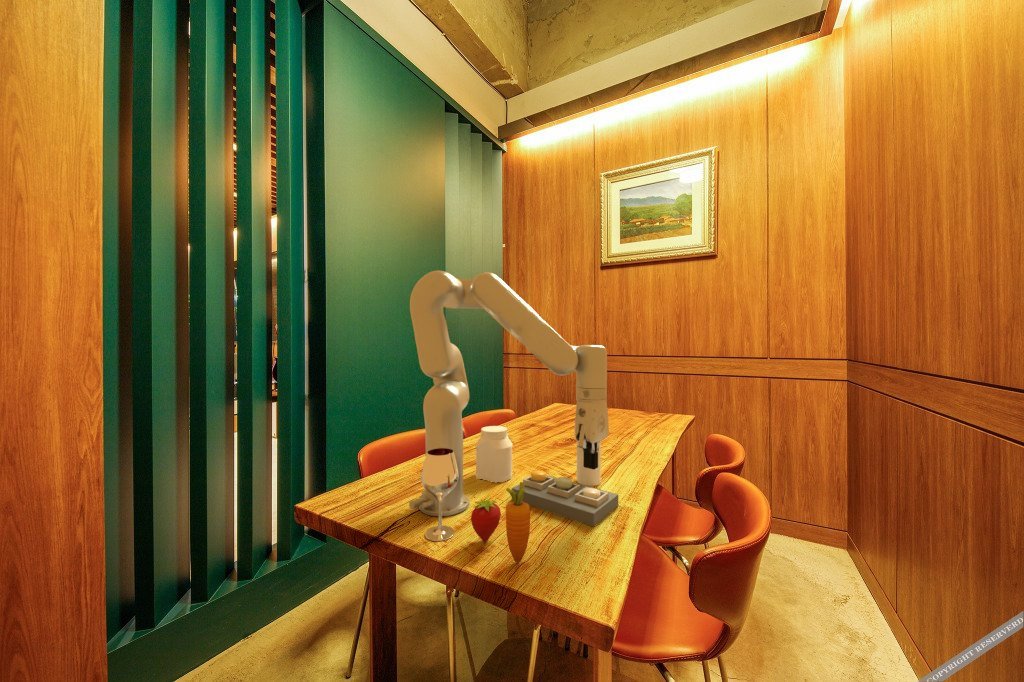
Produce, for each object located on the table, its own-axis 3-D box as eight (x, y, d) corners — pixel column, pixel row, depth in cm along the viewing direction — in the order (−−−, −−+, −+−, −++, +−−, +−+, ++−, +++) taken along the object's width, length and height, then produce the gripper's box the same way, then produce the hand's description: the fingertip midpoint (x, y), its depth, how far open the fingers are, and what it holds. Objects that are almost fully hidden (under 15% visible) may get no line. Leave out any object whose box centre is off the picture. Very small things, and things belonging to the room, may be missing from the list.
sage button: (566, 490, 95) (566, 484, 95) (552, 486, 98) (552, 480, 98) (574, 485, 99) (574, 479, 99) (561, 481, 101) (561, 475, 101)
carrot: (510, 573, 68) (511, 491, 68) (500, 559, 73) (501, 481, 73) (535, 567, 70) (535, 486, 70) (523, 553, 75) (524, 478, 75)
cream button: (595, 502, 90) (595, 496, 90) (580, 498, 93) (580, 491, 93) (603, 497, 94) (603, 490, 94) (588, 493, 96) (588, 486, 96)
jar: (517, 474, 119) (517, 427, 119) (503, 484, 111) (503, 434, 111) (485, 469, 124) (486, 424, 124) (470, 478, 116) (470, 430, 116)
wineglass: (445, 521, 88) (445, 444, 88) (466, 533, 82) (466, 451, 82) (413, 533, 82) (414, 451, 82) (434, 548, 76) (434, 459, 76)
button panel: (593, 526, 85) (593, 507, 85) (511, 499, 100) (511, 482, 100) (618, 506, 96) (618, 489, 96) (540, 484, 111) (540, 469, 111)
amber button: (540, 482, 100) (540, 476, 100) (528, 479, 103) (528, 473, 103) (549, 478, 104) (549, 472, 104) (536, 475, 106) (536, 469, 106)
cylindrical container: (602, 485, 110) (603, 400, 110) (578, 485, 110) (578, 400, 110) (597, 477, 117) (598, 397, 117) (575, 476, 117) (575, 397, 117)
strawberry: (506, 536, 81) (506, 490, 81) (489, 553, 74) (489, 503, 74) (483, 530, 84) (483, 485, 84) (464, 546, 77) (464, 498, 77)
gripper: (591, 399, 85) (590, 479, 85) (617, 392, 97) (617, 463, 97) (562, 396, 90) (562, 472, 90) (591, 390, 102) (590, 457, 102)
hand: (590, 467), depth 94 cm, fingers closed
